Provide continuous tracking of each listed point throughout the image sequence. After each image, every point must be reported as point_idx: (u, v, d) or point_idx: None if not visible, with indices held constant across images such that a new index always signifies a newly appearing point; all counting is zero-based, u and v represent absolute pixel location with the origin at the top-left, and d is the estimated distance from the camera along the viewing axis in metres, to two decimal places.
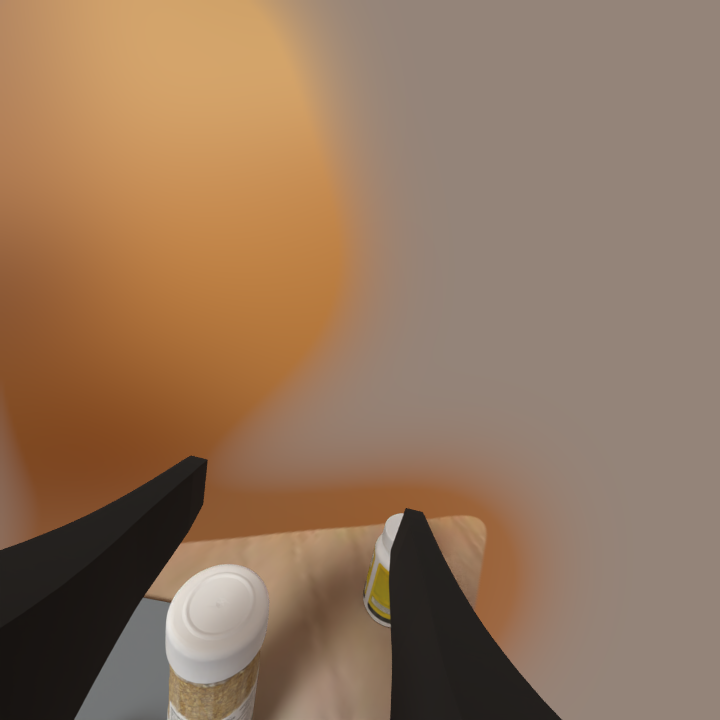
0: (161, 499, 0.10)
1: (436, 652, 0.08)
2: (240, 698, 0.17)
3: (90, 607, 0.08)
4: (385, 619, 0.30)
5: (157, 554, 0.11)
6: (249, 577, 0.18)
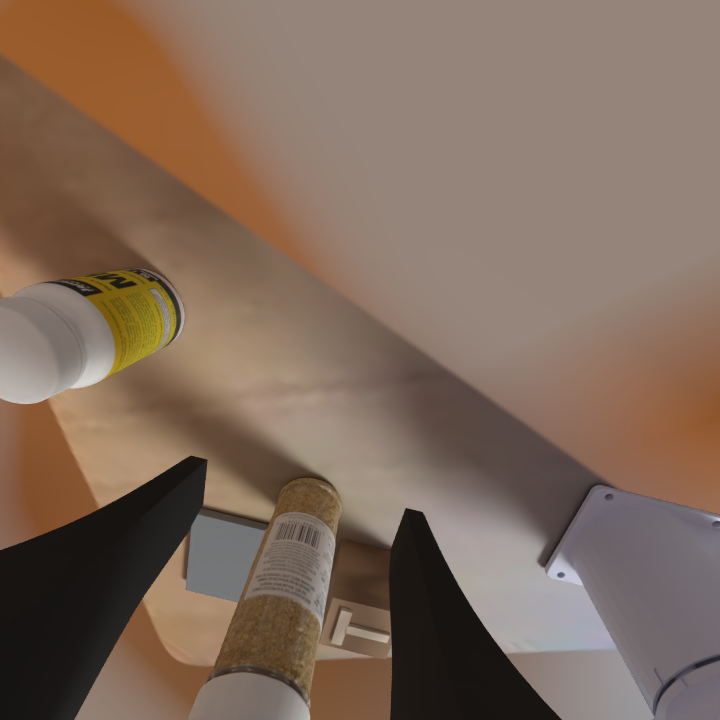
0: (161, 499, 0.10)
1: (436, 652, 0.08)
2: (305, 620, 0.16)
3: (90, 607, 0.08)
4: (177, 329, 0.21)
5: (157, 554, 0.11)
6: None
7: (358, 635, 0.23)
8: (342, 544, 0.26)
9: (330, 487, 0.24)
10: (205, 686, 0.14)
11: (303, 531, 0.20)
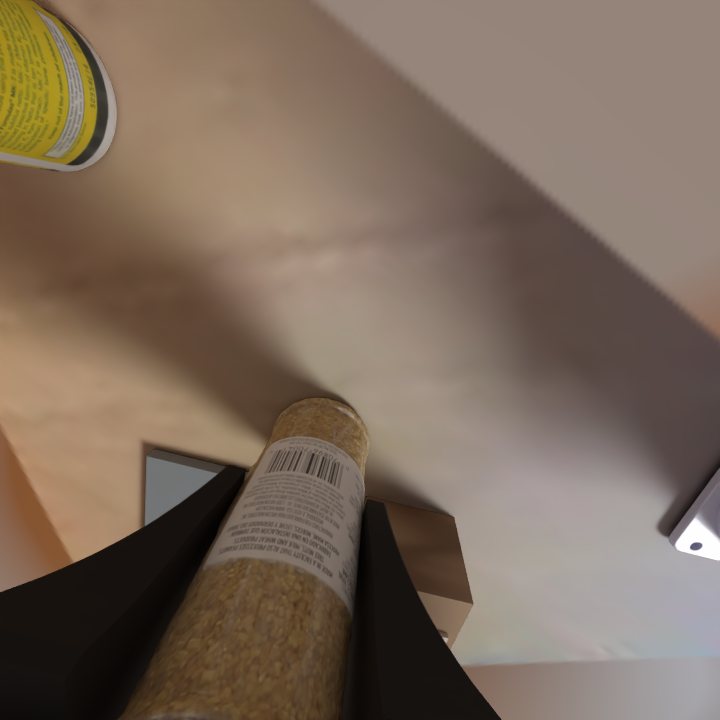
0: (209, 511, 0.10)
1: (373, 637, 0.08)
2: (324, 608, 0.08)
3: (151, 622, 0.08)
4: (100, 122, 0.12)
5: None
6: None
7: None
8: None
9: (352, 411, 0.16)
10: None
11: (314, 461, 0.12)
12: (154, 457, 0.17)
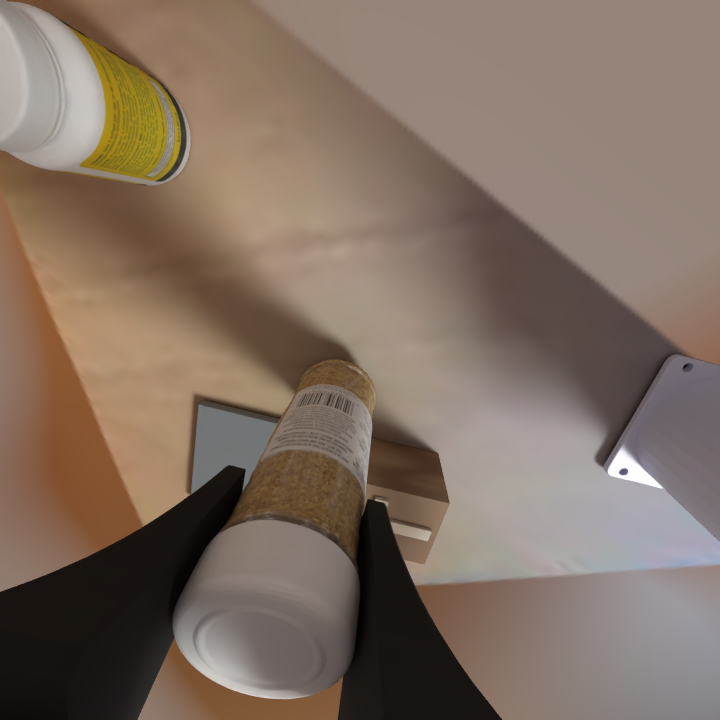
0: (209, 511, 0.10)
1: (373, 638, 0.08)
2: (343, 477, 0.12)
3: (151, 621, 0.08)
4: (181, 151, 0.17)
5: None
6: (196, 616, 0.08)
7: (394, 532, 0.20)
8: (371, 441, 0.23)
9: (360, 369, 0.20)
10: (209, 544, 0.10)
11: (332, 398, 0.16)
12: (204, 405, 0.22)
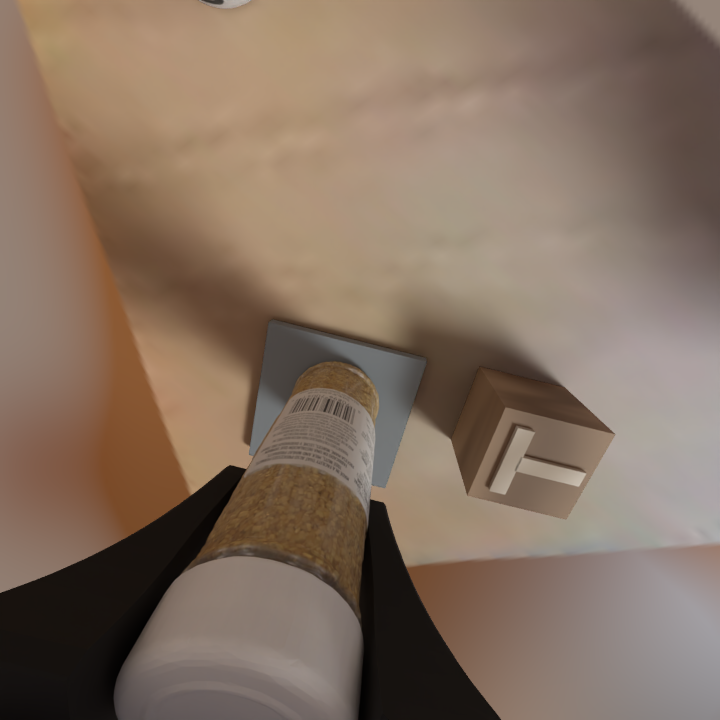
0: (210, 511, 0.10)
1: (372, 637, 0.08)
2: (342, 499, 0.10)
3: None
4: None
5: None
6: (143, 693, 0.06)
7: (535, 475, 0.15)
8: (483, 370, 0.18)
9: (362, 372, 0.18)
10: (170, 586, 0.08)
11: (330, 404, 0.14)
12: (275, 324, 0.18)
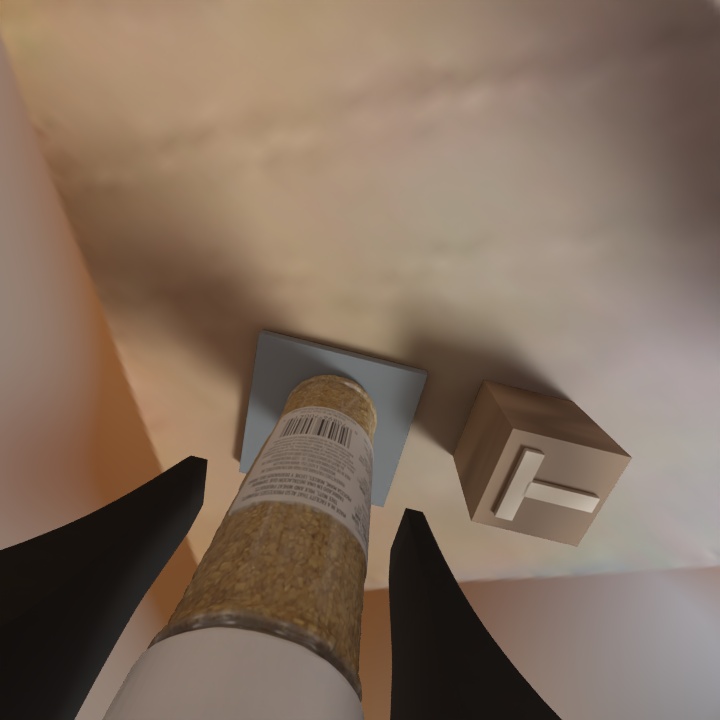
0: (161, 499, 0.10)
1: (436, 652, 0.08)
2: (339, 541, 0.09)
3: (90, 607, 0.08)
4: None
5: (157, 554, 0.11)
6: None
7: (544, 500, 0.14)
8: (488, 384, 0.17)
9: (359, 386, 0.17)
10: (137, 662, 0.06)
11: (324, 425, 0.13)
12: (266, 335, 0.17)
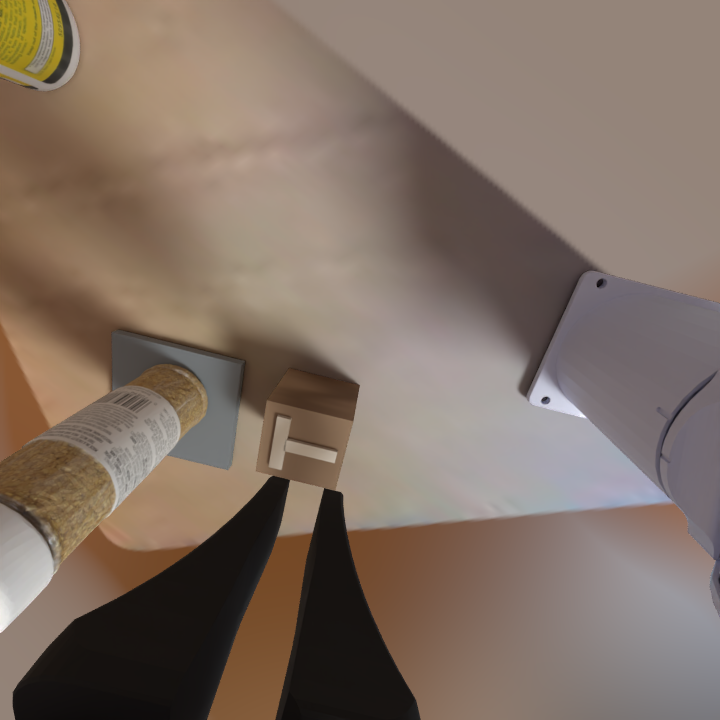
0: (265, 524, 0.10)
1: (302, 621, 0.08)
2: (80, 463, 0.14)
3: (220, 638, 0.08)
4: (67, 48, 0.17)
5: (254, 577, 0.11)
6: None
7: (300, 454, 0.19)
8: (289, 371, 0.22)
9: (188, 372, 0.22)
10: None
11: (126, 397, 0.18)
12: (118, 334, 0.22)
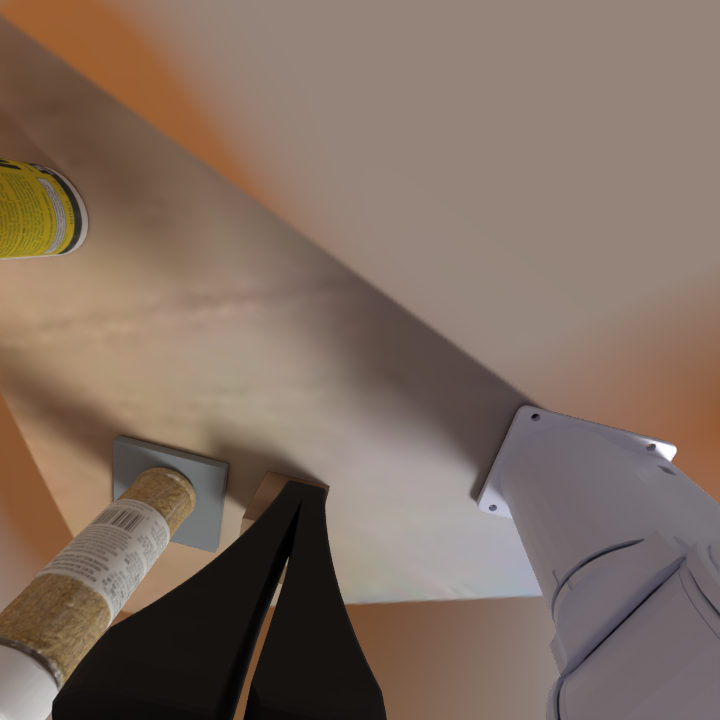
0: (286, 529, 0.10)
1: (273, 614, 0.08)
2: (81, 596, 0.17)
3: (247, 644, 0.08)
4: (77, 230, 0.20)
5: (274, 582, 0.11)
6: None
7: None
8: (266, 475, 0.25)
9: (179, 476, 0.25)
10: None
11: (122, 516, 0.21)
12: (118, 440, 0.25)
